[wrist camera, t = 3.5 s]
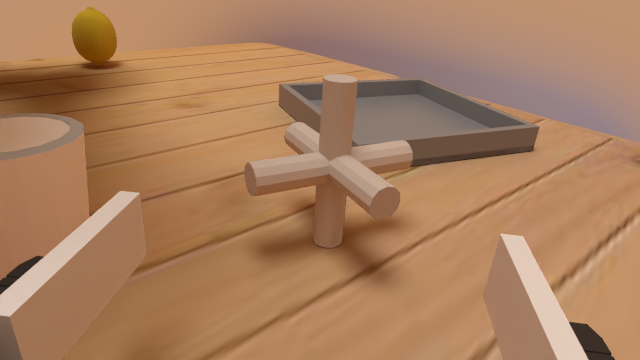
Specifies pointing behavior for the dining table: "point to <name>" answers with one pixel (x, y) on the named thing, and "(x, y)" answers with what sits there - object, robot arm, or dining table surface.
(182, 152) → the dining table surface
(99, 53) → the lemon
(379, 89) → the tray
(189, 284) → the dining table surface
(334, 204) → the pipe connector
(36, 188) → the shot glass
